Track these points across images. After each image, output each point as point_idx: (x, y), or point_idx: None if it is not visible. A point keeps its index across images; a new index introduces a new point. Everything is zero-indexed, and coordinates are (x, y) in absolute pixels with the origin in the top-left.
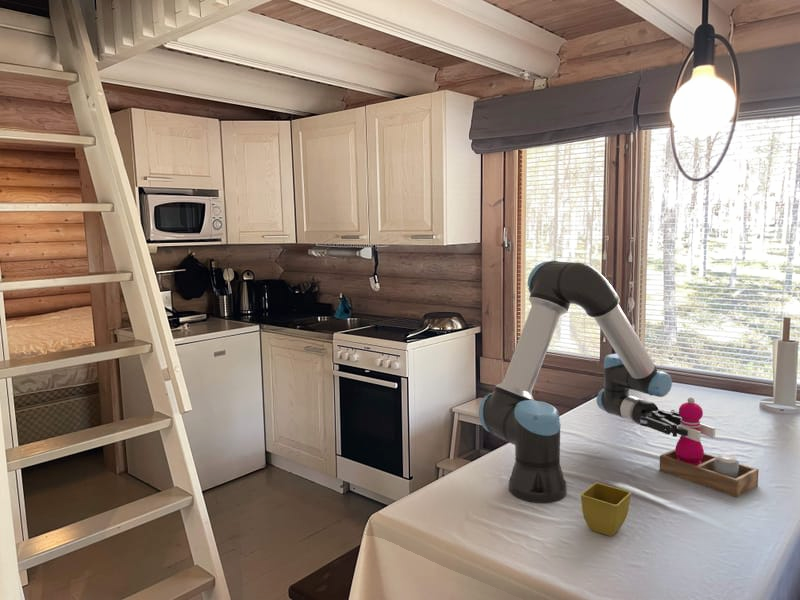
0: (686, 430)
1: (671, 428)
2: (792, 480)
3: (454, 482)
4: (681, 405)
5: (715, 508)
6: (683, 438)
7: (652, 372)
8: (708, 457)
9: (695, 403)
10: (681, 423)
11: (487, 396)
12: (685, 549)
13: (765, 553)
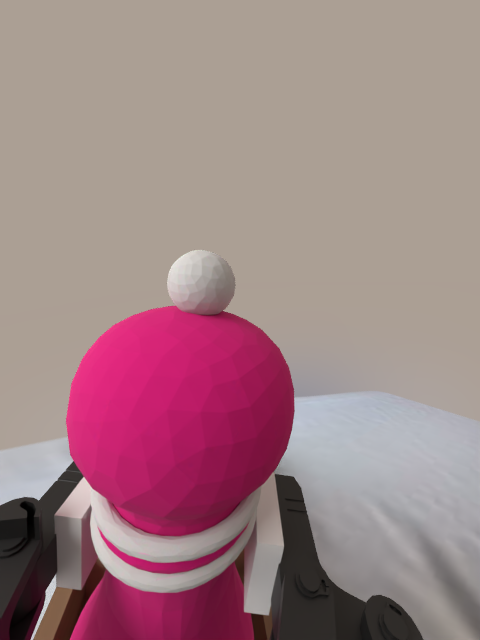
0: (278, 478)
1: (355, 602)
2: (4, 451)
3: None
4: (259, 373)
5: (301, 481)
6: (236, 591)
7: None
8: (70, 607)
9: (156, 308)
10: (245, 531)
11: None
12: (432, 445)
13: (325, 401)
